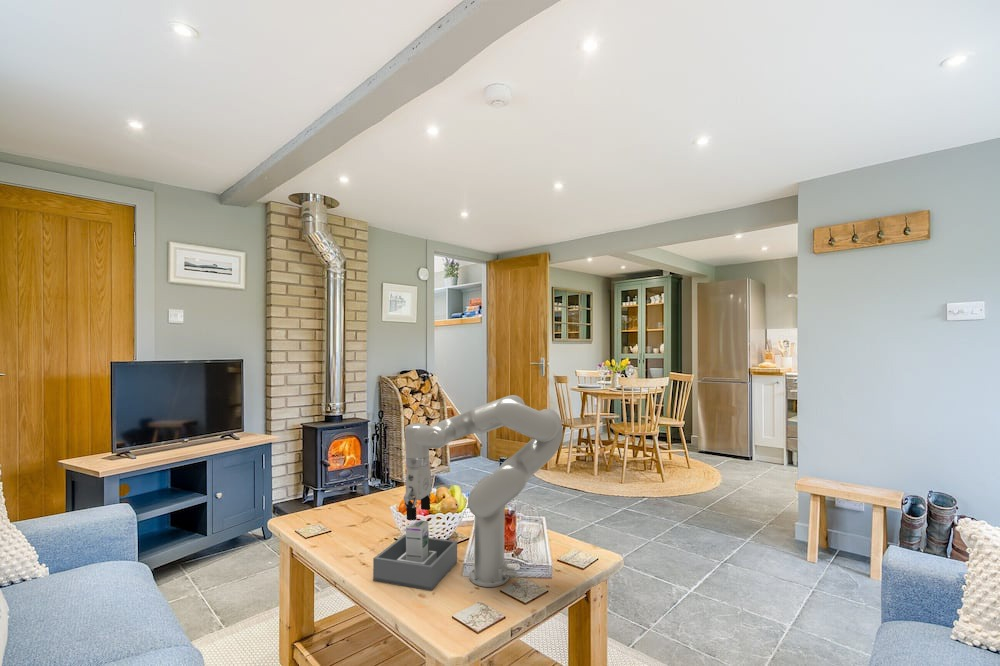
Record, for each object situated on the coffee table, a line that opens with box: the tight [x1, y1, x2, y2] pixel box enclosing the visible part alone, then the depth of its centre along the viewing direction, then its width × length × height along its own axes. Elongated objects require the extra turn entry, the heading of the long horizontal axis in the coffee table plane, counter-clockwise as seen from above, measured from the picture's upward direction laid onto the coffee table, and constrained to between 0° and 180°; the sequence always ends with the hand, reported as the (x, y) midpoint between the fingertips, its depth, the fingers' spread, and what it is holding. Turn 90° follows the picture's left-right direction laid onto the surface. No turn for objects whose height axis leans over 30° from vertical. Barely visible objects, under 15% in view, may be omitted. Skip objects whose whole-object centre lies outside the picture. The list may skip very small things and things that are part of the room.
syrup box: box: [405, 519, 430, 563], centre depth 160 cm, size 6×6×14 cm
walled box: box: [372, 533, 458, 592], centre depth 160 cm, size 20×20×7 cm
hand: (418, 514), depth 160 cm, fingers open, 9 cm apart
